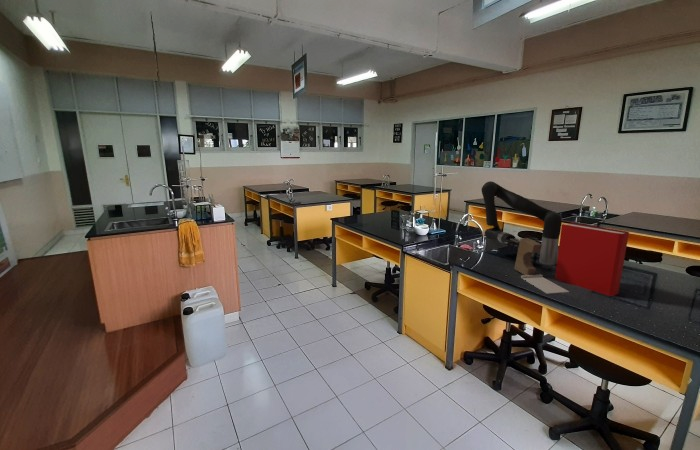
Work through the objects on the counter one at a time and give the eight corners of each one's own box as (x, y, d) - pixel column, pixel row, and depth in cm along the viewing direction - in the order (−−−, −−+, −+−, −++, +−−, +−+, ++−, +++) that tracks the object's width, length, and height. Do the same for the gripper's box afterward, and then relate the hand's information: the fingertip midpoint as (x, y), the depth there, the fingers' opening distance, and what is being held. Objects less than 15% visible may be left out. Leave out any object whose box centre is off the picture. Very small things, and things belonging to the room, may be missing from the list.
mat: (540, 276, 186) (540, 274, 185) (569, 292, 164) (569, 289, 164) (520, 277, 185) (521, 275, 184) (547, 293, 163) (547, 291, 163)
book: (554, 278, 182) (561, 224, 175) (562, 276, 186) (569, 222, 179) (612, 296, 159) (622, 234, 152) (619, 292, 163) (630, 231, 156)
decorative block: (535, 276, 186) (542, 244, 180) (526, 277, 185) (533, 245, 178) (521, 267, 196) (528, 237, 190) (513, 268, 195) (519, 238, 189)
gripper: (496, 233, 207) (512, 240, 190) (516, 232, 208) (533, 239, 191) (496, 244, 208) (511, 252, 191) (515, 243, 209) (532, 251, 192)
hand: (522, 245), depth 191 cm, fingers closed
